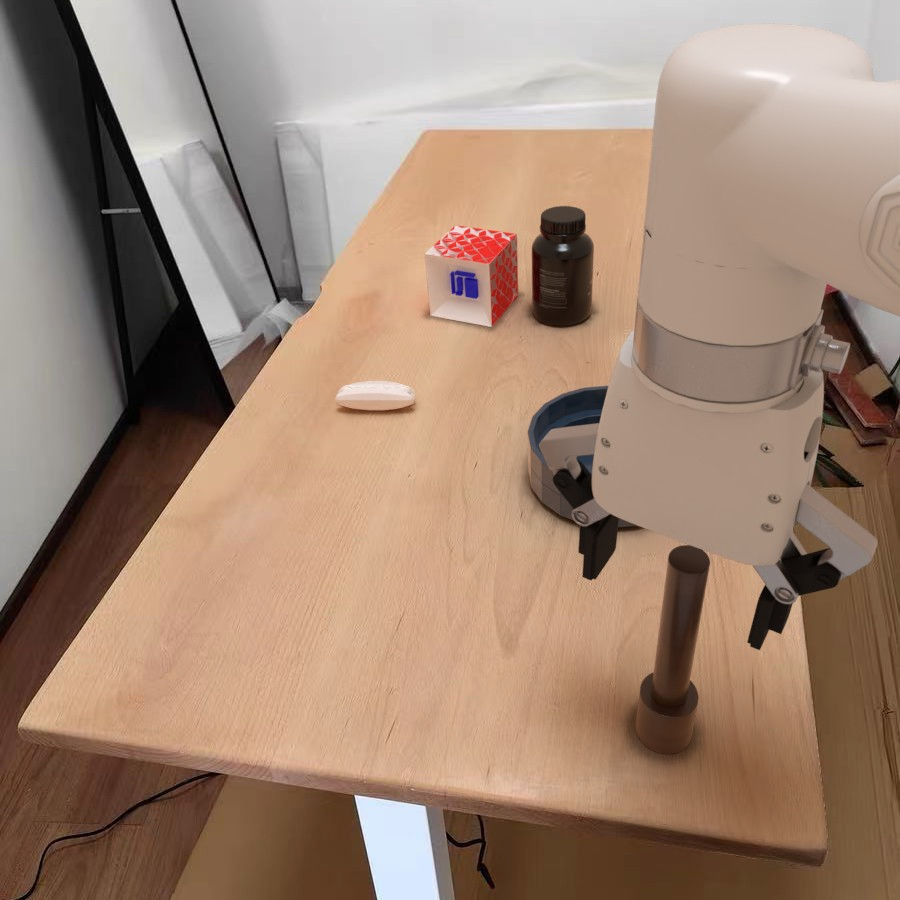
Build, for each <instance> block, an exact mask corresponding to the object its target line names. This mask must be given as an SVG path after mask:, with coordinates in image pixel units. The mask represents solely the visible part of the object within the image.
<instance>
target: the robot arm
mask: <svg viewBox="0 0 900 900" xmlns="http://www.w3.org/2000/svg"><path fill="white" fill-rule="evenodd" d="M657 83H658V84H657V89H656V98H655V105H654V115H653V116H654V117H653V126H652V138H651V149H650V159H649V168H648V169H649V171H648V181H647V188H646V189H647V191H646V201H645V213H644V220H643V221H644V223H643V234H642V244H641V254H640V266H639V267H640V268H639V276H638V288H637V298H636V299H637V300H636V308H635V319H634V320H635V321H634V329H633V330H632V331H631V332H630V333H629V334H628V336H627V338H626V340H625V341H624V342H623V344H622V345H621V347H620V350H619V353H618V355H617V358H616V361H615V363H614V366H613V369H612V373H611V376H610V379H609V383H608V385H607V386H608V390H607V394H606V398H605V402H604V406H603V410H602V414H601V418H600V423H596V424H587V425H579V426H571V427H563V428H555V429H551V430H550V431H549V432H548V434H547V435H546V436H545V437H544V438H543V439H542V440H541V442H540V443H539V447H540V450H541V452H542V454H543V456H544V458H545V461H546V463H547V465H548V467H549V469H550V470H552V471H553V473H554V477H553V483H554V485H555V486H556V488H557V489H558V490H559V491H560V493H561V494H562V495H563V496H564V497H565V499H566V500H567V501H568V502H569V504H570V505H571V506H572V507H573V509H574V510H573V511H572V518H573V520H572V521H573V522H574V523H576V524H577V525H578V526H579V535H578V553H579V554H580V555H583V560H582V578H584V579H586V580H588V581H593V580H596V579H597V578H598V577H599V576H600V574H601V573H602V571H603V570H604V568H605V567H606V566H607V564H608V562H609V561H610V559H611V558H612V556H613V555H614V553H615V551H616V549H617V541H618V530H619V527H618V521H619V518H620V519H623V520H625V521H628V522H630V523H633V524H635V525H638V526H637V527H640V528H643V529H646V530H648V531H651V532H653V533H656V534H659V535H661V536H664V537H667V538H669V539H672V540H675V541H678V542H679V543H683V544H684V545H690V546H693V547H696V548H699V549H702V550H703V551H704V552H706V553H710V554H712V555H716V556H718V557H721V558H724V559H726V560H730V561H733V562H735V563H739V564H744V565H747V566H752V567H753V569H754V570H755V572H756V573H757V575H758V576H759V578H760V579H761V581H762V582H763V583H764V586H763V588H762V590H761V592H760V594H759V597H758V600H757V602H756V606H755V611H754V614H753V618H752V622H751V626H750V630H749V632H748V633H749V634H748V636H747V637H748V638H747V640H746V641H747V642H746V643H747V644H749V647H750V648H752V649H755V650H756V651H757V650H758V651H761V649H762V646H763V644H764V643H765V640H766V638H767V636H768V635H769V631H772V632H774V633H777V634H779V635H782V633H783V631H784V629H785V627H786V624H787V621H788V619H789V617H790V614H791V610H792V607H793V604H795V603H796V602H797V599H798V597H799V596H804V595H809V594H813V593H816V592H821V591H825V590H830V589H833V588H836V587H838V585H839V582H840V581H842V580H843V579H844V578H848V577H850V576H851V575H853V574H855V573H856V572H858V571H860V570H861V569H863V568H864V567H866V566H867V565H869V564H870V563H871V562H872V560H873V558H874V556H875V552H876V549H877V547H878V545H879V544H878V543H879V542H878V538H877V537H876V536H875V535H873V534H872V533H871V532H870V531H868V529H866V528H865V527H863V525H861V524H859V522H857V521H856V520H854V519H853V518H852V517H850V516H849V515H848V514H846V513H845V512H844V511H843V510H841V509H840V508H839V507H838V506H836V505H835V504H834V503H832V502H831V501H830V500H829V499H827V498H826V497H825V496H823V495H822V494H821V493H820V492H819V491H817V490H816V489H814V488H813V487H812V481H813V477H814V472H815V467H816V464H817V463H816V462H817V456H818V452H819V446H820V439H821V433H822V432H821V431H822V423H823V416H824V415H823V414H824V399H825V398H824V397H825V381H824V373H823V371H826V372H828V373H829V372H830V373H834V374H837V375H840V374H841V372H842V371H843V369H844V367H845V363H846V361H847V359H848V355H849V351H850V348H851V342H846V341H842V340H838V339H835V338H834V335H831V334H827V333H825V329H826V326H825V325H823V324H821V323H822V319H823V314H824V311H825V310H824V309H822V305H823V301H824V298H825V295H826V294H825V293H826V289H827V286H830V287H832V288H834V289H836V290H839V291H840V292H842V293H844V294H847V295H848V296H850V297H853V298H855V299H856V300H859V301H861V302H863V303H865V304H867V305H870V306H872V307H874V308H876V309H879V310H880V311H883V312H886V313H889V314H891V315H894V316H897V317H900V78H899V79H895V80H887V81H875V75H874V69H873V64H872V62H871V59H870V57H869V55H868V53H867V52H866V51H865V50H864V48H862V47H861V46H860V45H859V44H858V43H857V42H856V41H854V40H852V39H851V38H849V37H846V36H843V35H841V34H839V33H836V32H834V31H832V30H831V31H830V30H827V29H824V28H819V27H814V26H808V25H801V24H792V23H774V22H773V23H772V22H770V23H769V22H768V23H767V22H765V23H764V22H763V23H743V24H733V25H728V26H721V27H716V28H714V29H710V30H706V31H703V32H701V33H697V34H695V35H692V36H690V37H689V38H687V39H686V40H684V41H683V42H681V43H680V44H679V45H678V46H676V48H674V49H673V51H672V52H671V53H670V54H669V56H667V59H666V62H665V63H664V65H663V68H662V70H661V73H660V75H659V79H658V82H657ZM584 455H594V458H593V467H592V474H591V473H590V472H589V471H588V469H587V468H586V467H585V466H584V464H583V463H582V462H581V461H580V460H578V459H576V458H577V456H584ZM798 524H799V525H800V526H801V527H803V528H804V529H805V530H807V531H808V532H809V533H810V534H812V535H813V536H814V537H815V538H816V539H818V540H819V541H821V542H822V543H823V544H824V545H826V546H827V547H828V548H824V549H821V550H817V551H813V552H809V553H808V552H807V551H806V549H805V548H804V546H803V545H802V543H801V541H800V540H799V539H798V537H797V536H796V534H795V532H794V531H793V529H794V527H795V526H797V525H798Z"/></svg>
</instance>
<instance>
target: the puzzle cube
mask: <svg viewBox="0 0 900 900" xmlns="http://www.w3.org/2000/svg"><path fill="white" fill-rule="evenodd" d="M518 253H519V252H518V234H517V233H513V232H507V231H499V230H492V229H484V228H479V227H471V226H464V225H457V224H455V225H454V226H453V227H452V228H451V229H449V230H448V231H447V232H446V233H445V234H444V235H443V236H442V237H441V238H440V239H439V240H438V241H436V243H434V245H432V246H431V247H430V248H429V249H428V250H427V251H426V252H425V253H424V263H425V272H426V284H427V295H428V306H429V315H430V317H435V318H440V319H446V320H451V321H456V322H462V323H468V324H473V325H477V326H478V325H479V326H483V327H489V328H493V327H494V326H495V324H496V323H497V322H498V321H499V320H500V318H501V317H502V316H503V315H504V314H505V312H507V310H508V309H509V307H510V306H511V305H512V304H513V303H514V302H515V300H516V299H517V298H518V297H519V268H518V267H519V261H518V260H519V259H518V258H519V256H518Z"/></svg>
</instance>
